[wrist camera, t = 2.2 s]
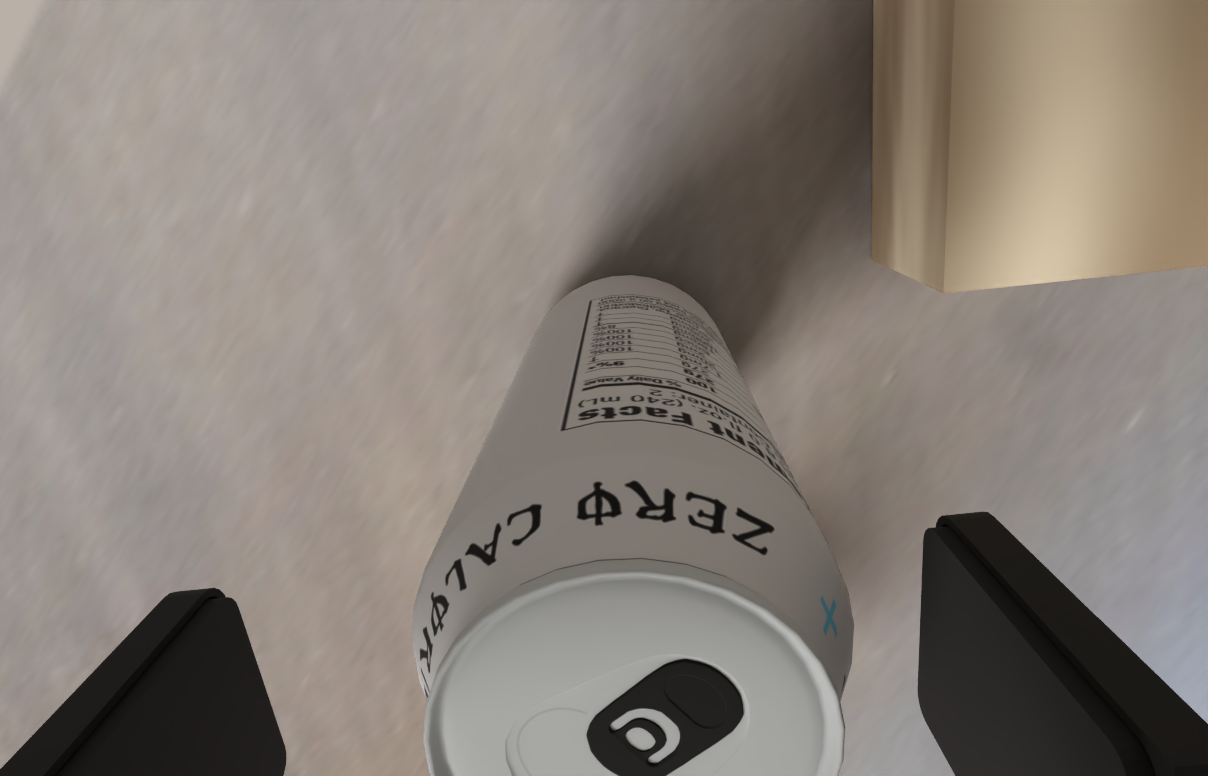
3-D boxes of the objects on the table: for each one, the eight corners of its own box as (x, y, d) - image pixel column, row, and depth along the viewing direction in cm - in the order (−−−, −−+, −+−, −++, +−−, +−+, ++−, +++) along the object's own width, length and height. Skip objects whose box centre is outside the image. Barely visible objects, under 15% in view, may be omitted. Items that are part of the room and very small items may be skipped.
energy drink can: (491, 360, 22) (262, 732, 8) (633, 226, 21) (653, 400, 7) (621, 488, 24) (617, 1000, 10) (763, 371, 22) (1007, 769, 8)
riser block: (1347, -256, 17) (1627, -411, 12) (1263, 217, 20) (1456, 239, 16) (874, -188, 18) (966, -309, 13) (871, 259, 21) (943, 293, 16)
